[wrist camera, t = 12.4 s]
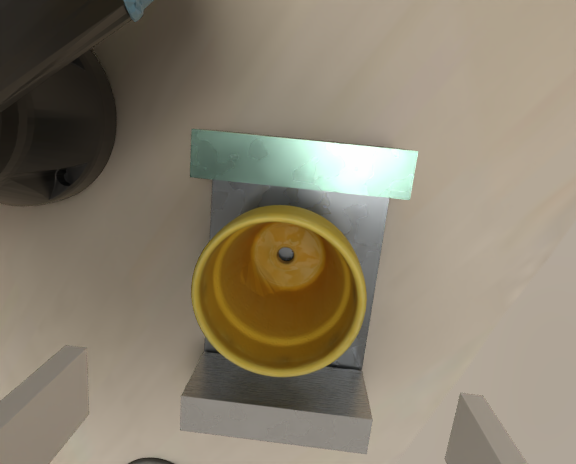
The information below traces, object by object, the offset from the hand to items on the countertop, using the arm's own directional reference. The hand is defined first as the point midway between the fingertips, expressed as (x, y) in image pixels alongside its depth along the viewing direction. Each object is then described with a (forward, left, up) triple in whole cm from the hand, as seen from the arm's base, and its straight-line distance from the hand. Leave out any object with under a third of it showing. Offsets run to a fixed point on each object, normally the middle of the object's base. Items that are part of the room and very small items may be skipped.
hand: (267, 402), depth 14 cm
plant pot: (0, 0, -19) cm, 19 cm away
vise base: (0, -3, -20) cm, 21 cm away
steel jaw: (0, -12, -19) cm, 22 cm away
